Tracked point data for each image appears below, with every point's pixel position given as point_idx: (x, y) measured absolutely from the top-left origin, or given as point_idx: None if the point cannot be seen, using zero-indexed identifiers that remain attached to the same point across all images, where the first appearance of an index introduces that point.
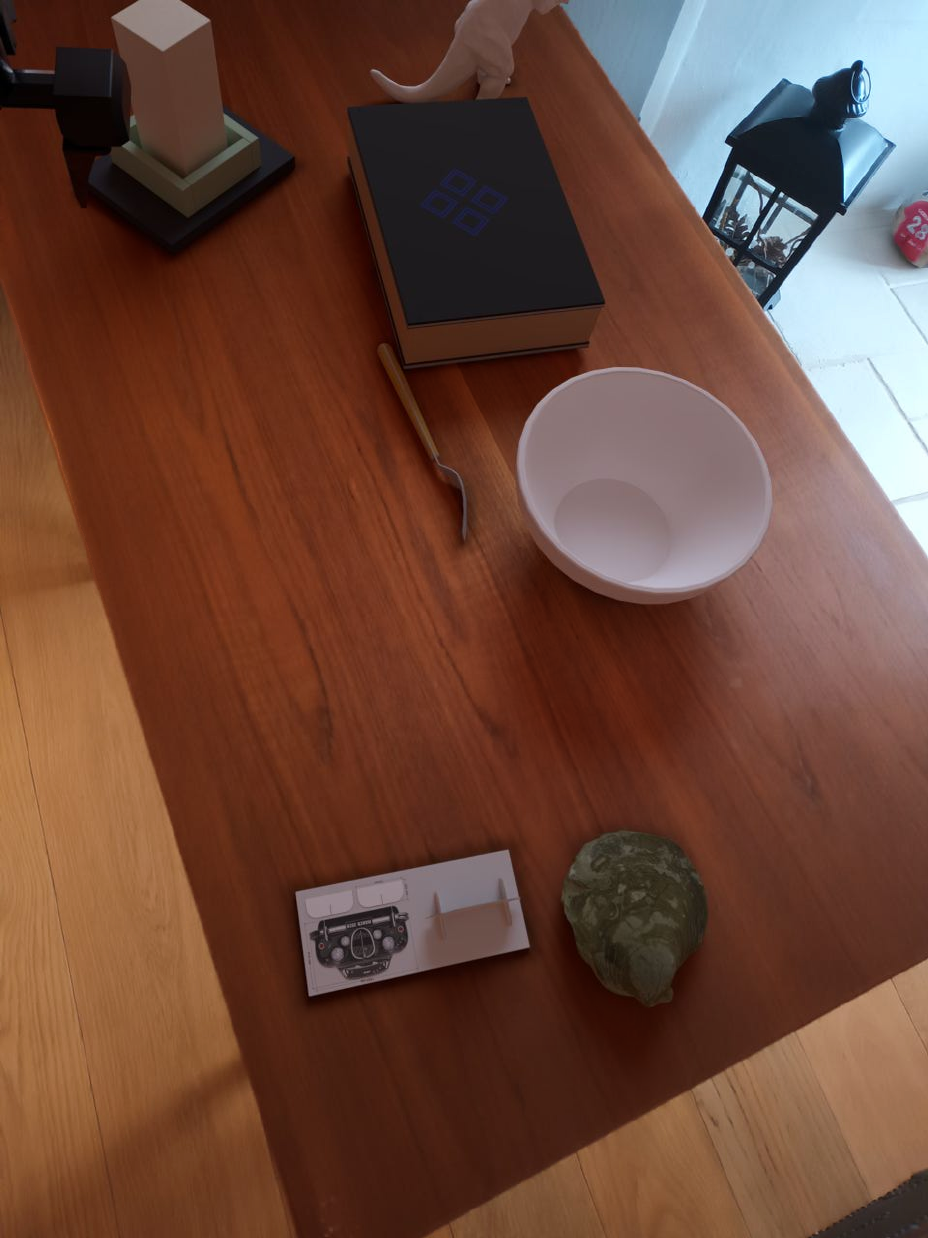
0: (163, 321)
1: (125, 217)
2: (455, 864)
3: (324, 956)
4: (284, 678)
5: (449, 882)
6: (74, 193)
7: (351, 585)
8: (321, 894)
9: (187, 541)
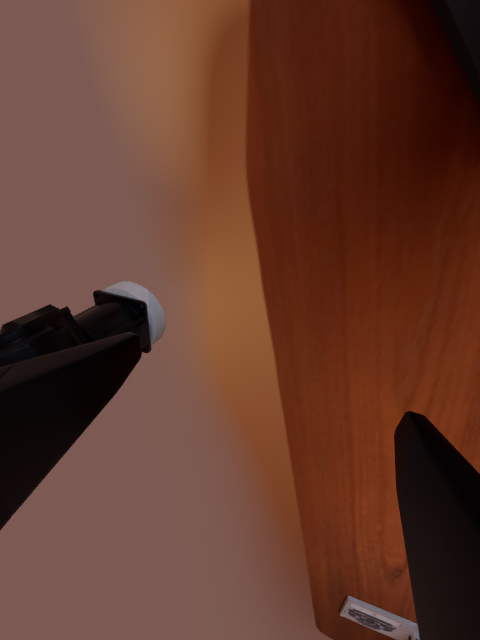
0: (419, 278)
1: (447, 32)
2: None
3: (351, 614)
4: (383, 551)
5: None
6: (400, 515)
7: None
8: (359, 605)
9: (353, 475)
